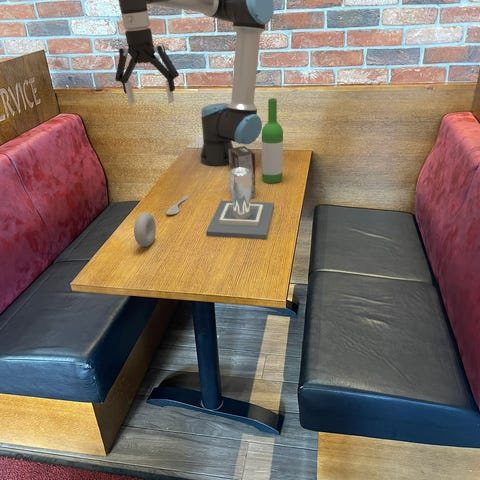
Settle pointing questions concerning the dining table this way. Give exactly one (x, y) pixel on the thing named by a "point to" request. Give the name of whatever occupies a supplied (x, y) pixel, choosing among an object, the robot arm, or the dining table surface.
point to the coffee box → (243, 162)
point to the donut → (144, 229)
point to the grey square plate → (241, 221)
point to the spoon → (176, 206)
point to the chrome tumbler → (241, 192)
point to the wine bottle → (272, 146)
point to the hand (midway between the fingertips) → (151, 102)
